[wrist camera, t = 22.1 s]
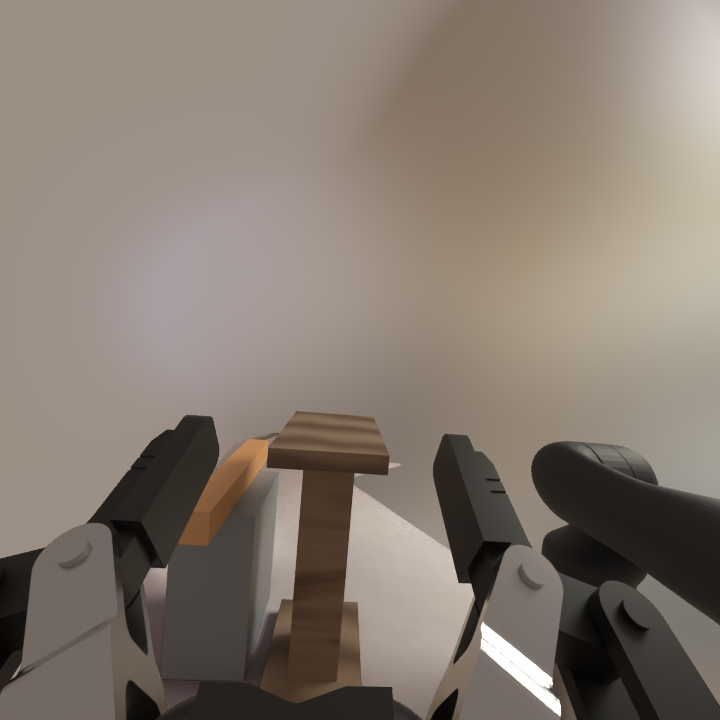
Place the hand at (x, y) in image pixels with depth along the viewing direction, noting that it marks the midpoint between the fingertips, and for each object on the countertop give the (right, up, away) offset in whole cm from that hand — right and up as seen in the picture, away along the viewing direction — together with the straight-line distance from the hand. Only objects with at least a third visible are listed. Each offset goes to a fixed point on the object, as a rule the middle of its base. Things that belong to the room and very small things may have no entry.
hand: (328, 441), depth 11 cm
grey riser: (-19, -36, +33) cm, 53 cm away
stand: (-5, -38, +29) cm, 48 cm away
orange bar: (-17, -16, +32) cm, 39 cm away
